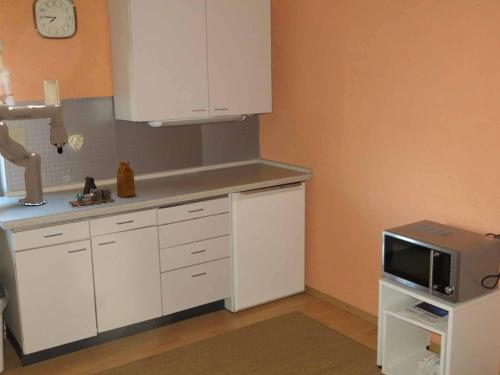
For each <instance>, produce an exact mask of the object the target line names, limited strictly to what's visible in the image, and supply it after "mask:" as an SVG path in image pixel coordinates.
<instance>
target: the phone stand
mask: <svg viewBox="0 0 500 375" xmlns="http://www.w3.org/2000/svg"><path fill="white" fill-rule="evenodd" d="M84 179H85V180H84V181H85V183H84V187H83V191H82V195H86V194H91V189H98V188H97V185H96V183H95V178H94V177H91V176H85V178H84Z"/></svg>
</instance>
